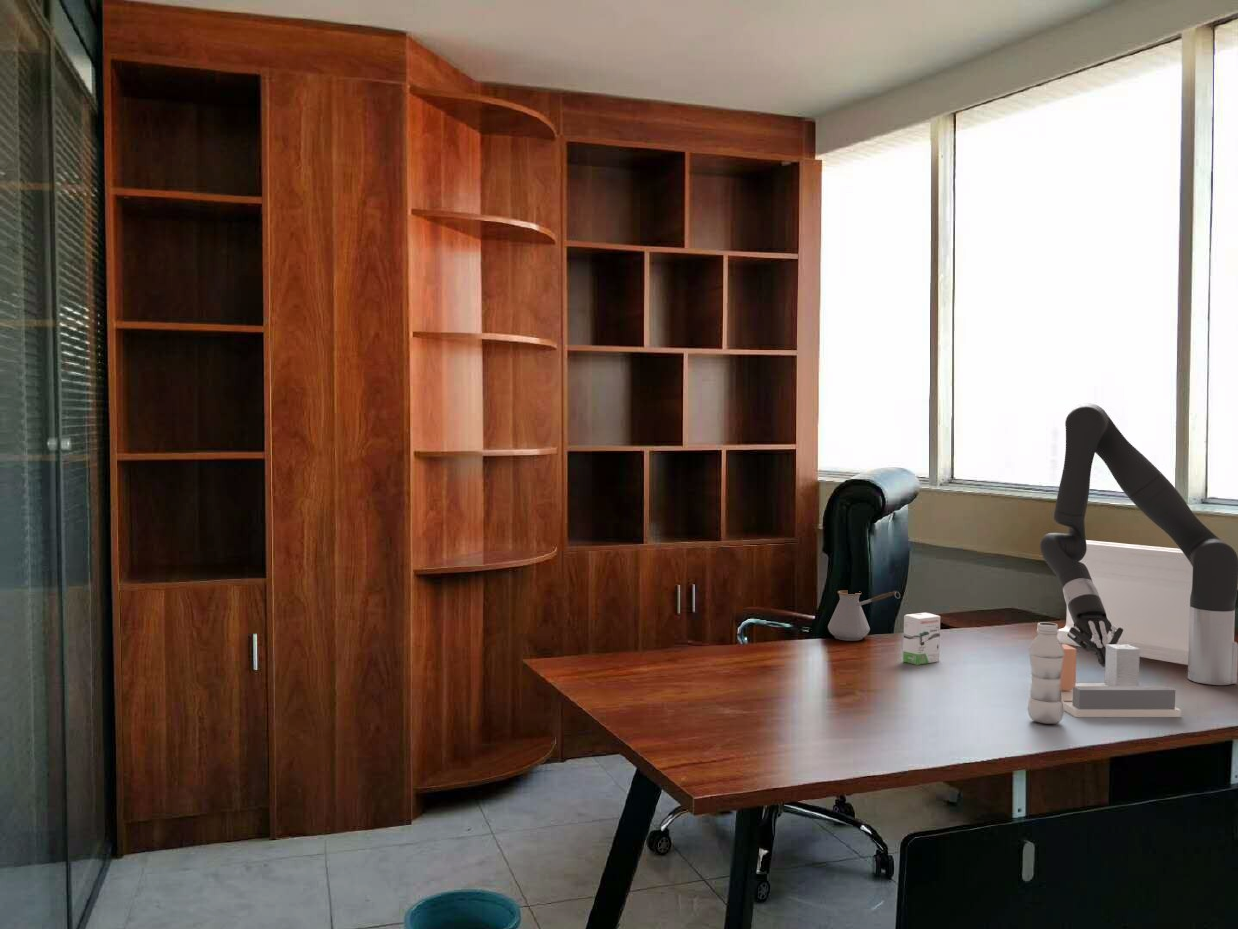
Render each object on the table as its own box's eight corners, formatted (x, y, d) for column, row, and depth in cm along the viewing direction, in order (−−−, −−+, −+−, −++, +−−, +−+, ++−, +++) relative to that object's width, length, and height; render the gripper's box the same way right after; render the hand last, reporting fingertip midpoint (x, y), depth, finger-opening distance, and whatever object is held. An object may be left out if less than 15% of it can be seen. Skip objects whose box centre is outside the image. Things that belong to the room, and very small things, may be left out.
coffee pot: (819, 637, 296) (820, 584, 295) (843, 632, 303) (844, 580, 303) (886, 650, 280) (887, 593, 279) (909, 644, 288) (910, 589, 287)
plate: (1030, 689, 240) (1031, 665, 239) (1126, 689, 240) (1127, 665, 240) (1075, 717, 218) (1075, 690, 217) (1180, 717, 218) (1181, 690, 218)
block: (1204, 661, 270) (1208, 551, 269) (1191, 665, 265) (1195, 554, 264) (1070, 638, 297) (1073, 539, 296) (1056, 642, 292) (1059, 541, 290)
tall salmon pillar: (1042, 684, 237) (1043, 644, 236) (1065, 684, 237) (1066, 644, 236) (1052, 690, 232) (1053, 649, 231) (1075, 690, 232) (1076, 649, 231)
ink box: (917, 665, 263) (918, 618, 262) (901, 661, 267) (902, 615, 266) (940, 661, 267) (941, 614, 267) (924, 657, 272) (925, 611, 271)
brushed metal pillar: (1104, 684, 237) (1106, 644, 237) (1126, 684, 237) (1128, 644, 237) (1116, 690, 232) (1117, 649, 232) (1138, 690, 232) (1139, 649, 232)
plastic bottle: (1060, 729, 209) (1062, 628, 208) (1024, 724, 212) (1026, 624, 212) (1066, 721, 214) (1068, 623, 213) (1030, 716, 218) (1033, 619, 217)
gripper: (1061, 592, 250) (1084, 656, 238) (1116, 593, 250) (1142, 656, 238) (1051, 611, 255) (1072, 674, 243) (1105, 611, 256) (1129, 674, 244)
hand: (1107, 665), depth 241 cm, fingers closed
